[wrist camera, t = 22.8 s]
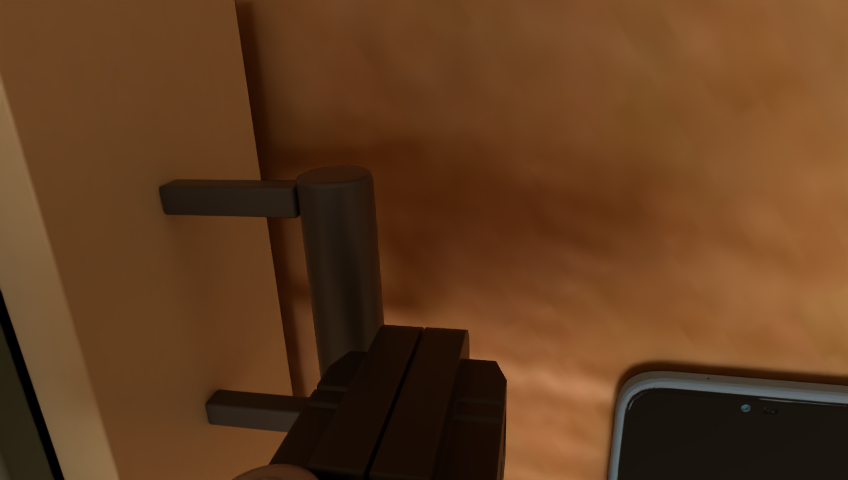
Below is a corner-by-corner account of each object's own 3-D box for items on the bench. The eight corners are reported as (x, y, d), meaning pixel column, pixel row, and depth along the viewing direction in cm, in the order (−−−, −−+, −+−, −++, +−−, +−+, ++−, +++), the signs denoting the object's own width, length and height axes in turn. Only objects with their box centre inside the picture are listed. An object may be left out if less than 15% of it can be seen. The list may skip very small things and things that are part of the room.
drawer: (408, -11, 13) (276, -34, 7) (430, 442, 17) (363, 684, 11) (-175, 23, 16) (-628, 28, 10) (-31, 395, 21) (-283, 560, 14)
